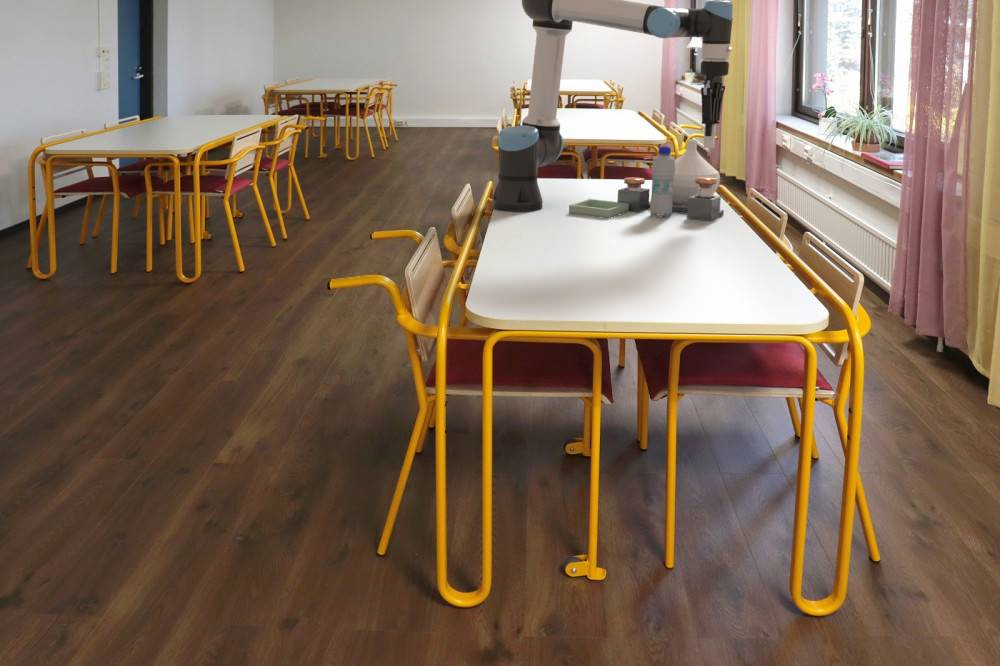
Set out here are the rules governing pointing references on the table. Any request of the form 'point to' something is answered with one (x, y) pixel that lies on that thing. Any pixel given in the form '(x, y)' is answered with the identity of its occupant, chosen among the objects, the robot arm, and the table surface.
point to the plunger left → (634, 183)
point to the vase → (690, 174)
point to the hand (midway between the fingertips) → (708, 147)
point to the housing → (694, 210)
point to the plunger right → (705, 186)
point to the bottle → (662, 183)
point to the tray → (598, 208)
